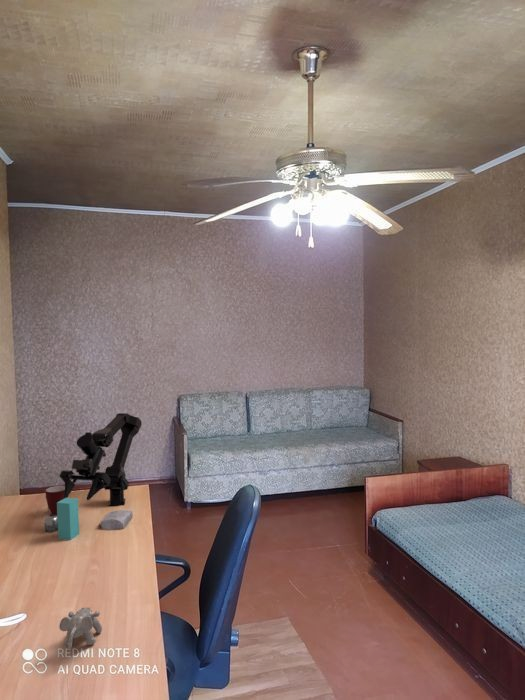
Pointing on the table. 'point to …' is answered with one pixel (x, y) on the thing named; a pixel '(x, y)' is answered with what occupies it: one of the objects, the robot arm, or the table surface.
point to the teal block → (68, 518)
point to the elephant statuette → (80, 626)
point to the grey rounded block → (51, 523)
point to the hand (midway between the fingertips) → (76, 499)
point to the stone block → (116, 519)
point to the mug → (54, 497)
